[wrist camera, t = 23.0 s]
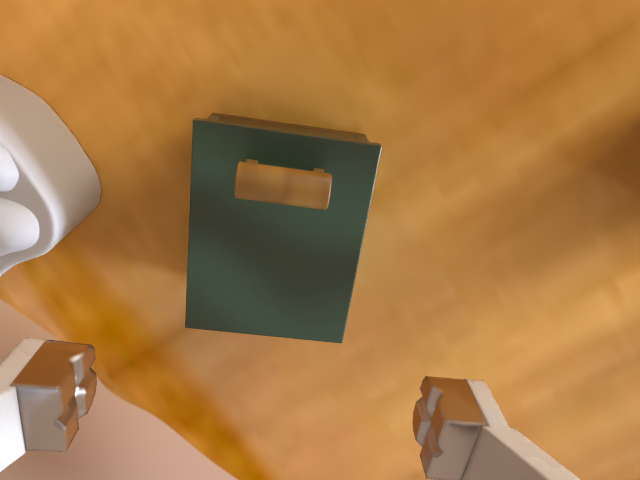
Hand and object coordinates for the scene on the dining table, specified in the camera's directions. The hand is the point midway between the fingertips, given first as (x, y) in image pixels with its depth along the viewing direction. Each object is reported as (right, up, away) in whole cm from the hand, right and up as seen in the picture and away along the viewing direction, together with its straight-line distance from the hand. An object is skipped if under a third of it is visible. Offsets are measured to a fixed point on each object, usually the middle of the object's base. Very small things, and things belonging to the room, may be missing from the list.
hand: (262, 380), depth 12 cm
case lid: (-1, +4, +19) cm, 20 cm away
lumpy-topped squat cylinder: (-21, +10, +23) cm, 33 cm away
